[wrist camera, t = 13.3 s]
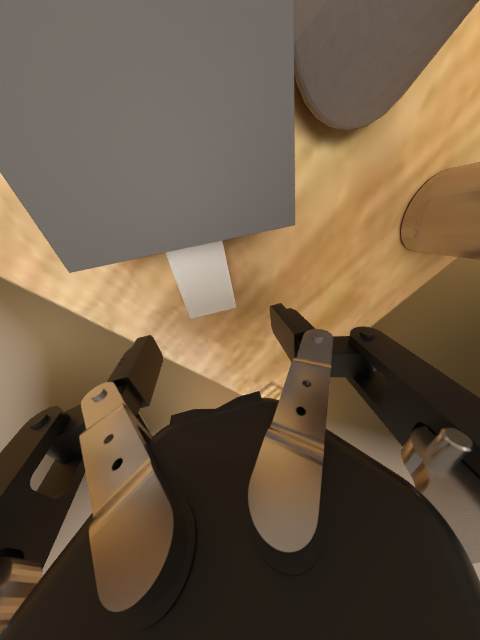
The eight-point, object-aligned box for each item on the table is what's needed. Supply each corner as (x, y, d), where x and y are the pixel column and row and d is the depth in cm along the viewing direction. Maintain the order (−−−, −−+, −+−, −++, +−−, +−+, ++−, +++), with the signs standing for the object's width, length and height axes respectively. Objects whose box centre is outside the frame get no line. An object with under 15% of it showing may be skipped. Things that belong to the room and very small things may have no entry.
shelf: (255, 224, 19) (295, 224, 11) (128, 250, 18) (69, 272, 10) (238, 69, 14) (292, -158, 6) (53, 93, 13) (-220, -148, 4)
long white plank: (131, 127, 14) (101, 85, 10) (191, 117, 15) (187, 73, 10) (192, 300, 22) (190, 319, 18) (229, 291, 23) (236, 307, 18)
